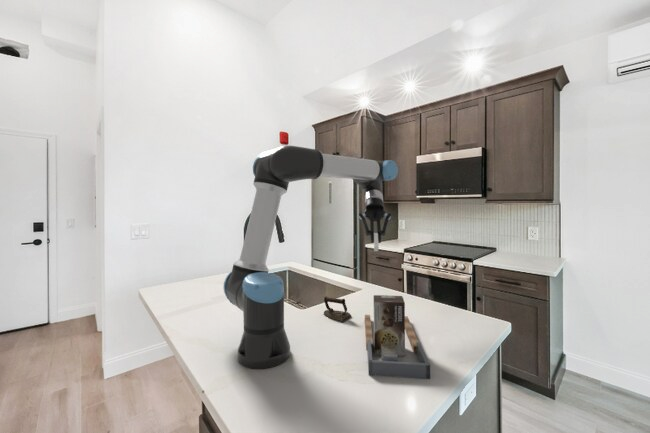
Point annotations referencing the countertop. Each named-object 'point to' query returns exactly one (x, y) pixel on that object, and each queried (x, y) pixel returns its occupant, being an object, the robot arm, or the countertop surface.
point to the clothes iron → (336, 315)
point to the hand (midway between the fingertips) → (376, 248)
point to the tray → (399, 365)
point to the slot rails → (408, 330)
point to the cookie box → (389, 322)
